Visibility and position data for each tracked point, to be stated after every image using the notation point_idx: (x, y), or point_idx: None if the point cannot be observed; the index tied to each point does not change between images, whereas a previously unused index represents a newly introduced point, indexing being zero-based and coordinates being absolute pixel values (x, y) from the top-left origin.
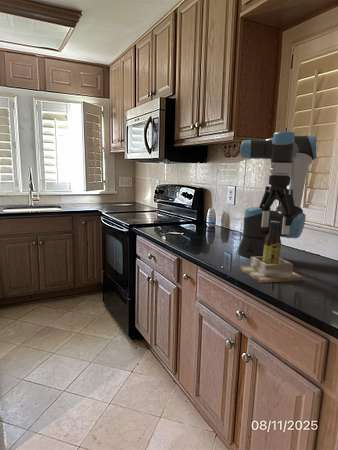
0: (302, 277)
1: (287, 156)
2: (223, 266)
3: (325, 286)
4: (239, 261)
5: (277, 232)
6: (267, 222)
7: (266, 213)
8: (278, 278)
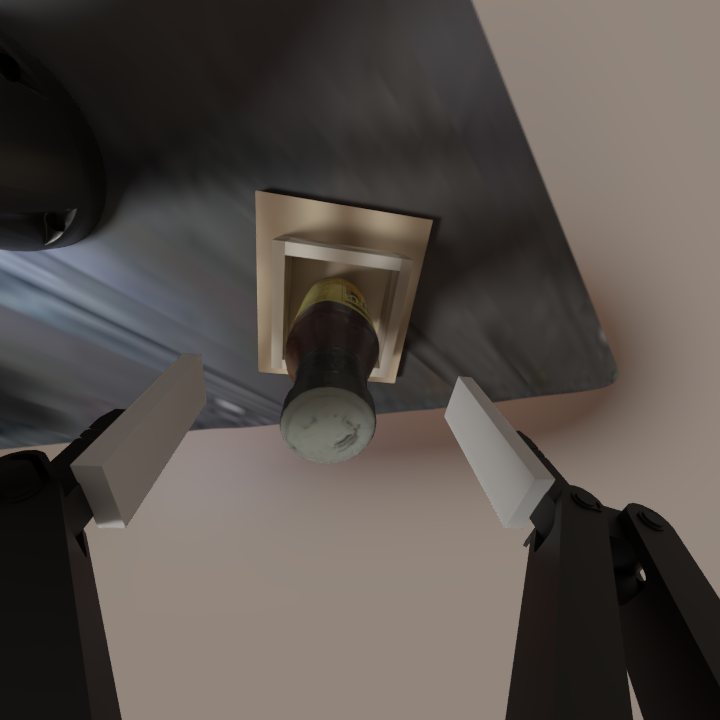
0: (431, 223)
1: None
2: (226, 400)
3: (512, 186)
4: (161, 314)
5: (366, 381)
6: (185, 387)
7: (135, 473)
8: (407, 326)
